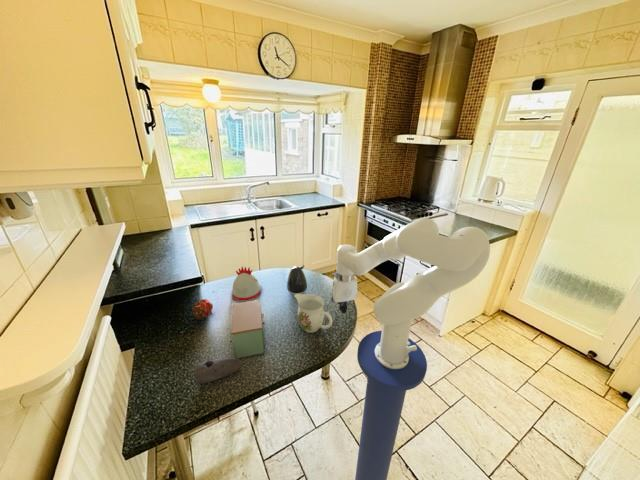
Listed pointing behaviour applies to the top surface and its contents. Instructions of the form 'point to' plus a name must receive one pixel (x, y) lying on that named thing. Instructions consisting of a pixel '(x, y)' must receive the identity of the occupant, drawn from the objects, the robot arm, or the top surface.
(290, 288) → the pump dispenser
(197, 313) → the dragon fruit
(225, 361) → the perforated stone tool
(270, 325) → the top surface
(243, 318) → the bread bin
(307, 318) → the pitcher
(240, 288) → the grey rounded dome
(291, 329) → the top surface
